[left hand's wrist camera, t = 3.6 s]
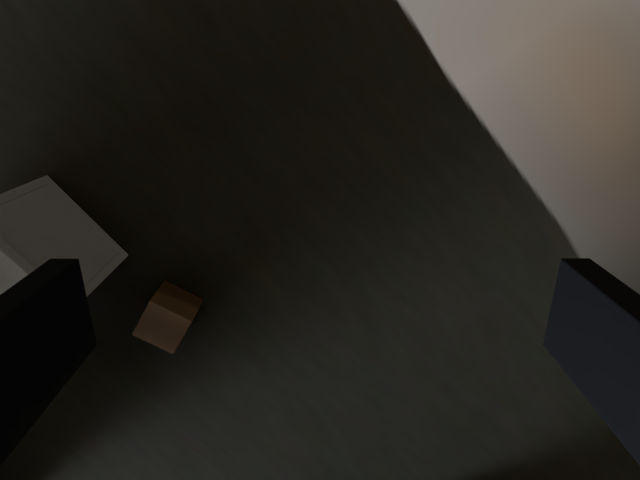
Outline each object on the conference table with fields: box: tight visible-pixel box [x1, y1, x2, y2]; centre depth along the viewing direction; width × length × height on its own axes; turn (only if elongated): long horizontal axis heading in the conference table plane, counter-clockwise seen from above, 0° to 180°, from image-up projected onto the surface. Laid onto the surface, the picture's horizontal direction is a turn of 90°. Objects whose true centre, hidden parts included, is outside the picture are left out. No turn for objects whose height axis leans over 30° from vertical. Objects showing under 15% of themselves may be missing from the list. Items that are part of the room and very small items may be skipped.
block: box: [132, 280, 203, 354], centre depth 43 cm, size 4×4×4 cm
